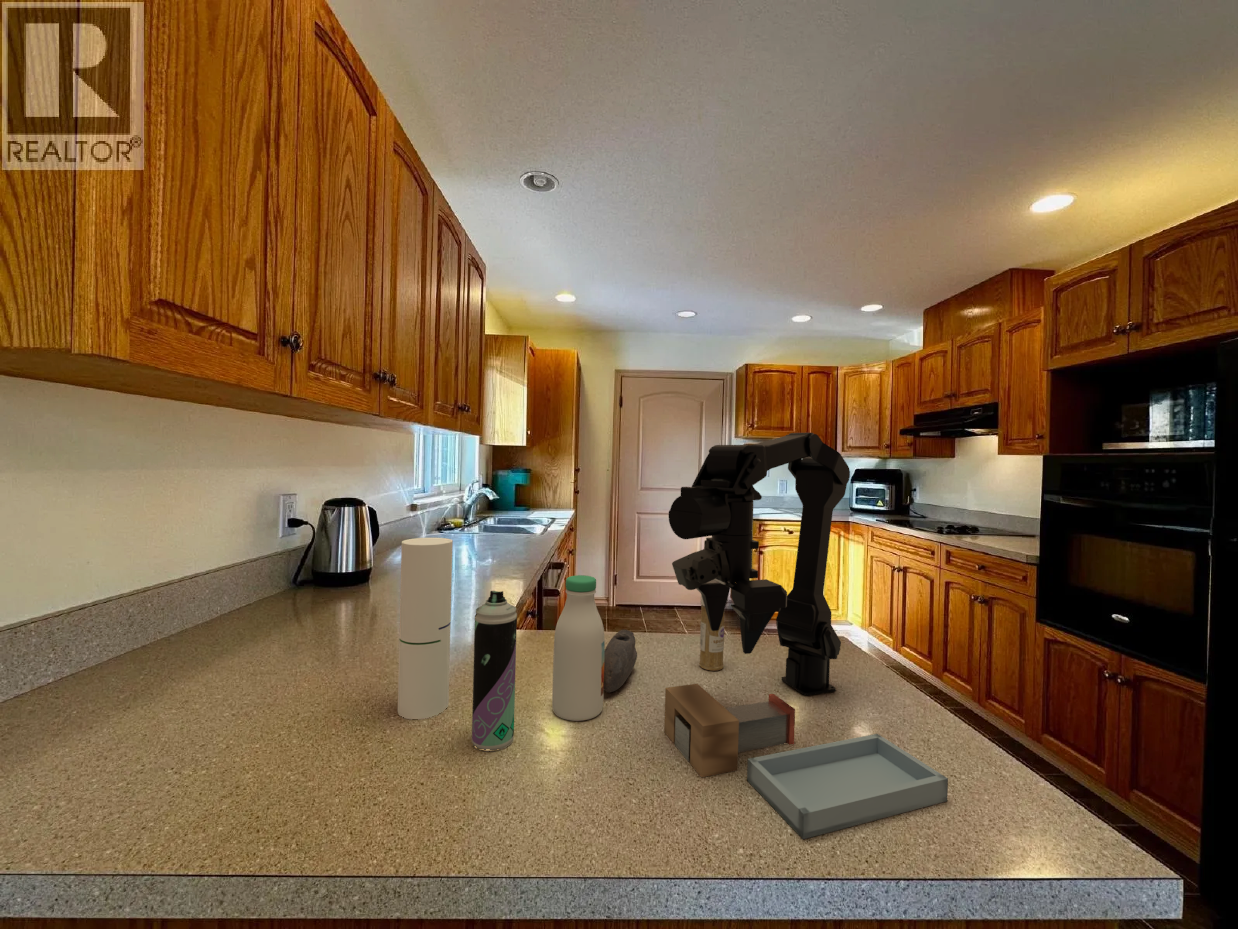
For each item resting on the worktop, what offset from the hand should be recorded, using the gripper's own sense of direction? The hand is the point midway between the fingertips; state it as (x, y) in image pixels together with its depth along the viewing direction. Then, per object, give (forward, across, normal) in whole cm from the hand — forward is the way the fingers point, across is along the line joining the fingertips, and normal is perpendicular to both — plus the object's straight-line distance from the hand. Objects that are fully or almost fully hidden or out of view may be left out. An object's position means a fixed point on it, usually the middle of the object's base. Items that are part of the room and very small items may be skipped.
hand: (730, 641), depth 73 cm
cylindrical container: (+12, -16, -42) cm, 47 cm away
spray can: (+12, -5, -33) cm, 35 cm away
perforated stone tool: (+13, -19, -11) cm, 25 cm away
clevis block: (+12, +4, -7) cm, 15 cm away
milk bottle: (+12, -10, -20) cm, 26 cm away
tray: (+12, +16, +6) cm, 21 cm away
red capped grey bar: (+12, +4, -2) cm, 13 cm away
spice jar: (+13, -20, +8) cm, 25 cm away
